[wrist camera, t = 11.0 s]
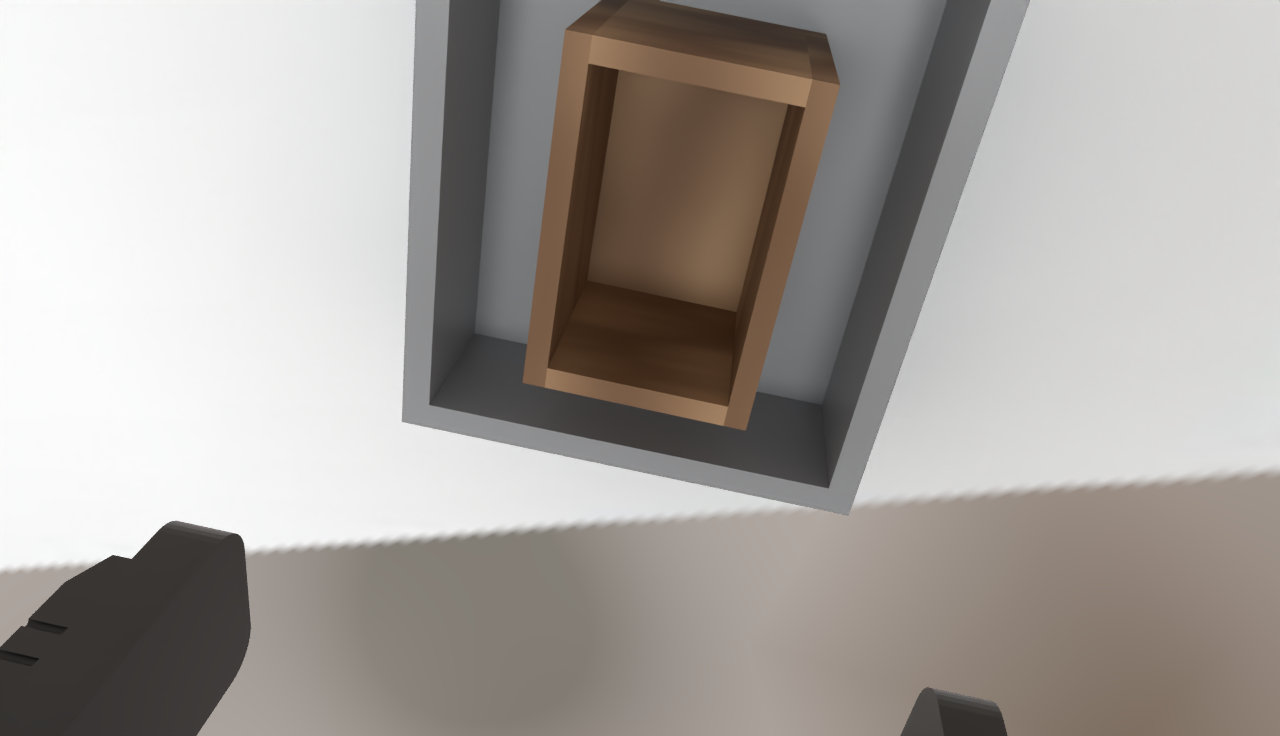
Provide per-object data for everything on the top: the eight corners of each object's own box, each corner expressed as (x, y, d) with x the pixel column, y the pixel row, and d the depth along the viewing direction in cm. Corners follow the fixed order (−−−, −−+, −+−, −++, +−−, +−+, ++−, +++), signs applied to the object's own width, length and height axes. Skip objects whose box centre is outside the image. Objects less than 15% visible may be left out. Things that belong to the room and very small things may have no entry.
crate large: (996, -74, 24) (1050, -57, 19) (837, 416, 32) (848, 515, 27) (491, -168, 24) (421, -175, 20) (457, 338, 32) (402, 421, 27)
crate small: (826, 33, 25) (840, 85, 19) (751, 321, 30) (745, 430, 24) (612, -9, 25) (564, 29, 20) (570, 283, 30) (522, 382, 24)
